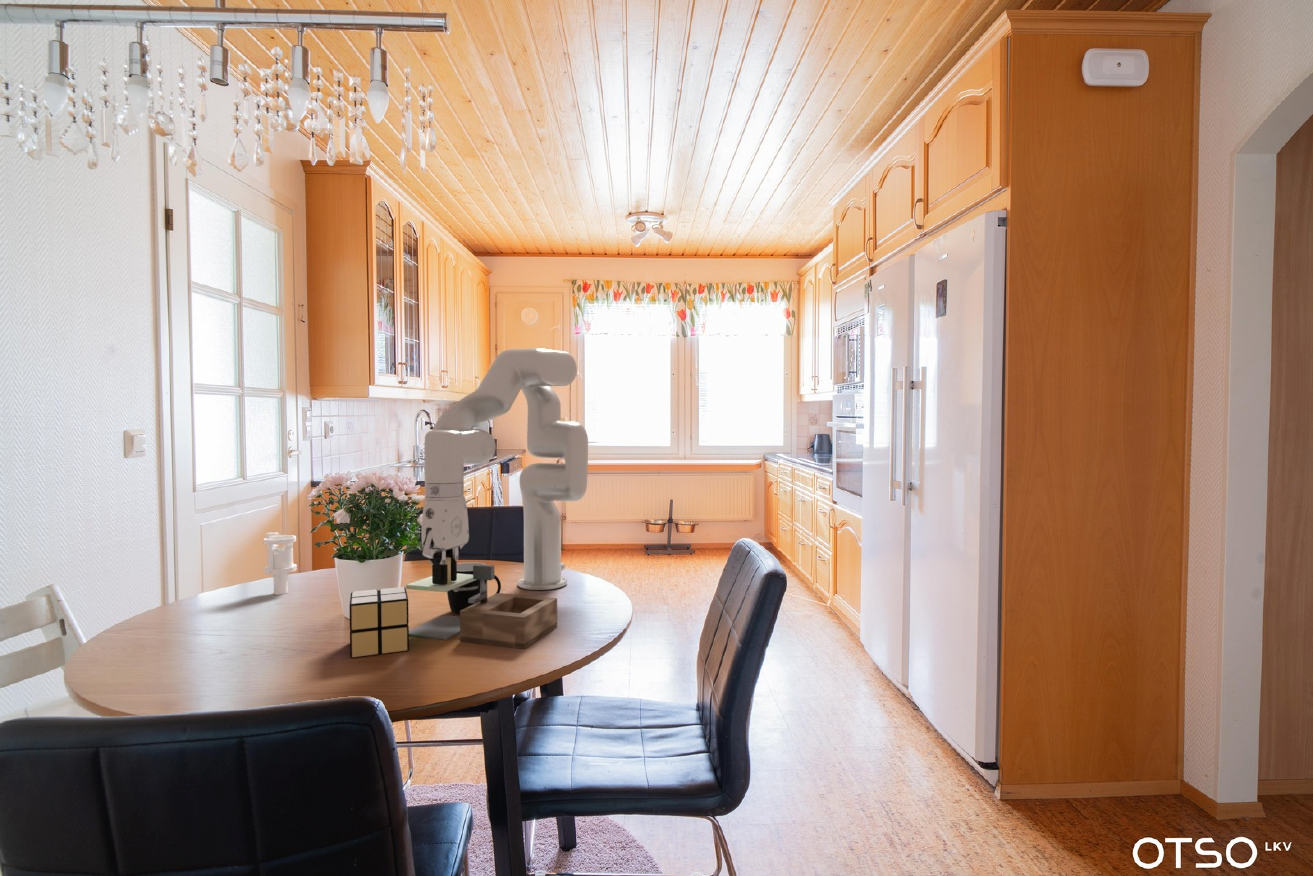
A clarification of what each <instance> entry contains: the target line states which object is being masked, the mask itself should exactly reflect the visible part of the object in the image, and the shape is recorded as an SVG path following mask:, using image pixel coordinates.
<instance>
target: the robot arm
mask: <svg viewBox="0 0 1313 876" xmlns="http://www.w3.org/2000/svg"><path fill="white" fill-rule="evenodd" d="M577 372H578V366H577V362H576V359H575V358H574V356H572V355H571V353H569V352H567V351H563V350H554V349H547V348H540V347H539V348H510V349H505V350H503V351H501V352H499V354H498V355H497V357H495V359H494V361H493V362H492V363H491V366H490V367H489V369H488V371H486V374H485V375H484V378H483V379H482V380H481V381H480V384H479V385H478V387H477V389H476V390H474V391H473V392H471V393H469V394H467V395H465V396H464V397H463V398H461V399H459V400H458V401H457V402H455V403H453V404H452V405H451V406H449V407H448V408H447V409H446V410H445V411H444V412H443V413H442V414H441V415H440V416H439V418H438V420H437V421H436V423H435V425H434V426H433V427H432V429H431V430H430V431H428V432H426V433H425V436H424V503H423V508H422V516H421V517H422V518H421V545H422V546H421V547H422V548H423V550H422V556H424V557H426V558H428V560H429V561H430V562H429V563H430V565H431V569H432V570H431V576H432V583H433V584H440V585H446V584H447V583H448V564H445V562H446V557H448V558H451V581H456V580H457V562H458V560H459V554H460V552H461V549H462V548H463V547H464V546H465V545H466V544H468V542H469V539H470V532H469V531H470V530H469V514H468V508H467V507H468V506H467V501H466V497H465V496H464V495H465V494H464V493H465V488H464V487H465V486H464V485H465V484H464V483H465V482H464V481H465V479H464V478H465V475H464V474H465V473H464V472H465V471H464V470H465V465H482V464H485V463H488V462H489V461H490V460H491V459H492V458H493V456H494V455H495V452H496V450H497V449H496V446H497V445H496V441H495V438H494V437H493V436H492V435H493V434H491V433H490V432H488V431H486V430H484V429H482V428H481V429H480V428H472V427H474V426H476V425H479V424H482V423H484V422H487V421H490V420H494V419H496V418H499V417H501V416H503V415H505V414H507V413H508V412H509V411H510V410H511V409H512V407H513V405H514V402H515V401H516V399H517V397H518V395H519V394H520V391H522V393H523V395H524V397H525V400H526V405H527V423H526V425H527V427H526V428H527V429H526V431H527V432H526V447H527V451H528V453H529V454H530V455H531V456H532V457H536V458H541V459H564V463H553V462H552V463H550V462H549V463H548V462H547V463H546V462H545V463H544V462H542V463H541V462H539V463H538V462H537V463H536V462H535V463H532V464H529V465H527V466H525V467H524V468H523V469H522V470H521V472H520V475H519V489H520V493H521V499H522V506H523V507H522V508H523V577H521V578H520V579H518V581H517V585H518V587H519V588H522V589H524V590H530V591H531V590H532V591H548V590H554V589H560V588H563V587H564V586H566V585H567V584H568V579H567V577H565V576H562V571H563V570H565V569H566V565H565V563H563V562H562V517H561V513H560V511H559V508H558V506H557V505H556V504H555V502H554V501H556V502H557V501H558V502H578V501H580V500H582V499H583V498H584V497H585V494H586V492H587V488H588V468H589V464H588V463H589V438H588V433H587V430H586V429H585V427H584V425H582V424H581V423H580V422H577V421H562V418H561V417H562V415H561V414H562V413H561V412H562V410H561V409H562V408H561V407H562V405H561V400H560V398H559V396H558V394H557V392H556V391H555V390H554V389H553V387H566V386H569V385H571V384H572V383H573V382H574V380H575V379H576V377H577V374H578V373H577Z"/></svg>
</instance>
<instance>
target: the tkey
mask: <svg viewBox="0 0 1313 876" xmlns="http://www.w3.org/2000/svg"><path fill="white" fill-rule="evenodd" d="M494 575H495V564H486V565H483V564H475V565H473V579H477V580H480V593H479V594H477V595H475V596H473V597H471V598H469V599H468V603H477V602H478V601H480V602H487V598H488V581H492V580H495V579H494Z"/></svg>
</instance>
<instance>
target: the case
mask: <svg viewBox="0 0 1313 876" xmlns="http://www.w3.org/2000/svg"><path fill="white" fill-rule="evenodd" d="M459 617H460V633H459V642H461V643H471V644H477V645H478V644H479V645H488V646H496V647H497V646H498V647H503V648H513V649H514V648H515V649H523V650H525V649H527V648H528V647H530V646H531V645H532V644H534V643H536V642H537V641H538V640H540V639H542V638H543V637H544V636H546V635H548V634H549V633H550V632H552V631H553V630H555V629H556V628H558V598H556V597H548V596H546V597H545V596H537V595H536V596H534V595H525V594H514V593H513V594H512V593H501V592H500V593H496V592H495V594H492V595H490V596H487V602H478V603H475V604H473V605H471V606H469V607H467V608H465V609H463V610H461V611H460V615H459Z"/></svg>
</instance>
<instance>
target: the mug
mask: <svg viewBox="0 0 1313 876" xmlns="http://www.w3.org/2000/svg"><path fill="white" fill-rule="evenodd" d="M475 564H483V565H487V564H486V563H482V562H474V561H472V562H471V561H470V562H467V561H466V562H458V563H457V573H458V574H470V575H473V565H475ZM493 580H495V582H496V585H497V591H496V592H495V594H496V593H501V590H502V585H501V580H500V579H499V577H498V576H497V575H495V574H494V579H493ZM446 593H447V600H448V605H449V608H450V610H451V612H452V613H453V614H455V615H459V616H460V611H461V610H463V609H465V608H467V607H469V606H471V605H473V604H475V603H468V599H469V598H471V597H473V596H475V595H477V594H479V593H480V580H475V581H472V582H470V583H467V584H465V585H462V586H460V587H457V588H454V589H452V590H449V591H447V592H446ZM478 602H480V601H478ZM478 602H477V603H478Z"/></svg>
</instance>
